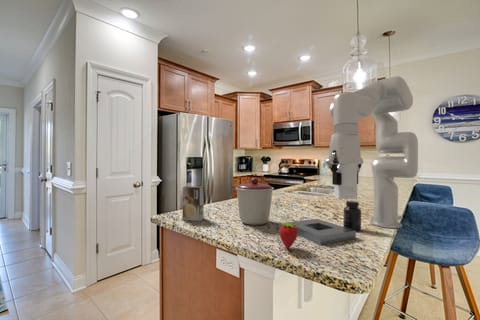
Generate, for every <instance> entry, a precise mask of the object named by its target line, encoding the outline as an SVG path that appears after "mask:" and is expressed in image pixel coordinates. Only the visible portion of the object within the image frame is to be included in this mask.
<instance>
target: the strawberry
mask: <svg viewBox="0 0 480 320" xmlns="http://www.w3.org/2000/svg"><path fill="white" fill-rule="evenodd" d="M287 222H291V219H289V220H288V221H287ZM287 222H285V223H284V222H283V223H281V224H280V225H281V227H280V228H279V231H278V233H279V236H280V240H281V242H282V244H283V245H284V247H285V248H286V250H289V249H290V248H291V247H292V246H293V244H294V243H295V241H296V240H297V237H298V235H297V229H296V228H295V227H294V226H297V225H294V224H292V223H287ZM291 224H292V225H291Z"/></svg>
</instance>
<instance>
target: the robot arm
mask: <svg viewBox="0 0 480 320" xmlns="http://www.w3.org/2000/svg"><path fill="white" fill-rule="evenodd" d="M413 103H414V98H413V94H412V91H411V90H410V87H409V85H408V83H407V82H406V80H405V79H404V78H403V77H401V76H392V77H388V78H383V79H378V80H375V81H371V82H370V83H369V84H367V85H366V86H364V87H363V88H360V89H357V90H355V91H344V92H339V93H338V94H336V95H334V97H333V102H331V104H330V106H329V109H328V110H329V116H330V117H331V119H332V120H333V130H332V131H333V134H331V138H330V141H329V142H330V143H329V150H328V151H329V152H328V157H327V158H326V160H325V161H326V163H327V166H328V168H329V169H330V172H331V173H332V175H331V178H332V182H331V183H332V185H333V186H334V185H341V184H342V173H340V171H341V168H342V165H346V164H349V162H357V185H359V173H360V172H361V168H362V166H363V164H364V159H363V158H362V157H361V155H362V154H361V144H360V142H361V141H360V135H359V119H365V118H368V117H369V116H372V118H373V120H374V123H375V128H376V129H375V149H376V151H377V153H379V154H385V155H386V154H403V156H379V157H378V156H377V157H375V158H374V159H373V160H372V162H371V170H372V176H373V177H372V179H373V218H372V219H370V220H369V223H370V224H371V225H373V226H376V227H379V228H380V227H381V228H387V229H400V228H403V224H402V223H401V222H399V221H400V220H402V219H403V216H402V215H400V214H399V211H398V210H399V187H398V185H397V184H396V182H395V181H394V180H393V179H394V178H395V179H396V178H398V179H413V178H416V176H417V174H418V170H419V141H418V137H417V134H415V133H414V132H412V131H402V132H398V130H399V129H398V127H399V126H398V125H399V122H398V121H397V119H396V118H395V117H394V116H393V115H392V114H390V113H396V112H404V111H408V110H410V109H411V108H412V107H413ZM337 162H339V163H337ZM336 166H338V167H336Z"/></svg>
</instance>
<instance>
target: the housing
mask: <svg viewBox="0 0 480 320" xmlns="http://www.w3.org/2000/svg"><path fill="white" fill-rule="evenodd" d="M286 223H292V224H294V225H297V226H294V227H295V228H296V229H297V237H298V236H299V237H301V238H303V239H306V240H307V241H310V242H313V243H314V244H317V245H319V246H324V245H329V244H334V243H339V242H345V241H350V240H356V239H357V234H356V233H357V231H355V230H352V229H349V228H346V227H343V226H342V225H339V224H335V223H333V222H329V221H326V220H323V219H319V218H313V219H305V220H296V221H289V222H288V221H287V222H286ZM292 224H291V225H292Z"/></svg>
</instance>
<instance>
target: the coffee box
mask: <svg viewBox="0 0 480 320" xmlns="http://www.w3.org/2000/svg"><path fill="white" fill-rule="evenodd" d="M204 187H205V186H195V185H193V186H192V185H187V186H184V187H182V221H188V220H190V221H191V222H192V221H194V222H195V221H197V222H201V221H202V220H204V219H205V218H204V198H205V197H204V191H205V189H204ZM190 221H189V222H190Z"/></svg>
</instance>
